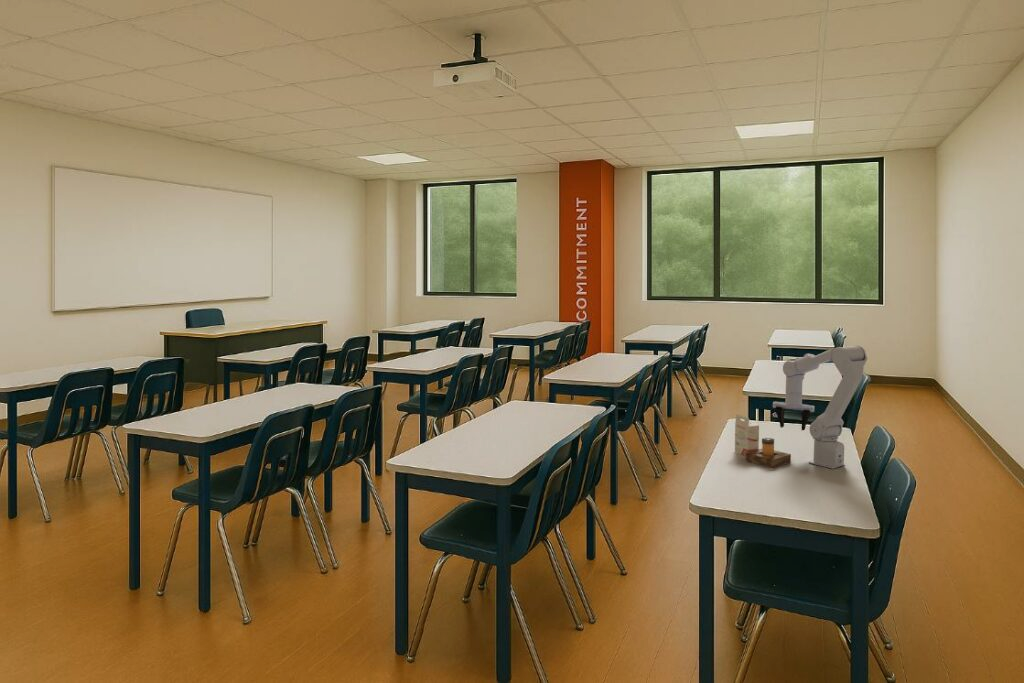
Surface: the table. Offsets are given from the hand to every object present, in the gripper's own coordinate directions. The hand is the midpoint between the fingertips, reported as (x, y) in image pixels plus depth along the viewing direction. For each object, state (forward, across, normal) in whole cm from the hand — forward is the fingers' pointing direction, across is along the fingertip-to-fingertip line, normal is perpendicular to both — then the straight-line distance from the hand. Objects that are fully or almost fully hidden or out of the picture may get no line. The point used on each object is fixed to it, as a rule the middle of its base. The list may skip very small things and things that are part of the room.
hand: (792, 428), depth 266 cm
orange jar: (+9, -3, -17) cm, 19 cm away
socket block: (+9, -4, -17) cm, 19 cm away
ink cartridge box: (+10, -13, -11) cm, 20 cm away
